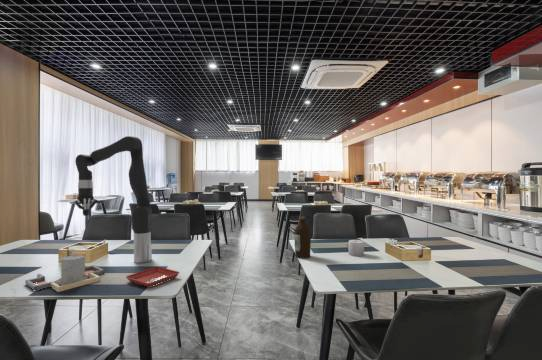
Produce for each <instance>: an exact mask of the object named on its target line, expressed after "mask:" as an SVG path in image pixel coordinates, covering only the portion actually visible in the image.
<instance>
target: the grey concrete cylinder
mask: <svg viewBox="0 0 542 360" xmlns="http://www.w3.org/2000/svg"><path fill="white" fill-rule="evenodd" d="M85 264H86V256H85V254H71V255H66V256H62V257H61V258H60V265H61V267H60V270H61V271H60V274H61V277H60V278H61V280H60V281H61V282H60V283H61V284H60V286H62V285H66V284H70V283H74V282H78V281H82V280H86V275H85V267H86V265H85Z"/></svg>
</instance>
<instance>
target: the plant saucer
mask: <svg viewBox="0 0 542 360" xmlns="http://www.w3.org/2000/svg"><path fill="white" fill-rule="evenodd" d="M179 274H180V271H177V270H173V269H169V268H165V267H161V266H154V267H151V268H147V269H145V270H141V271H138V272H135V273H132V274H129V275H126V276H125V278H126V279H127V280H128V281H130V283H133V282H134V284H136V283H137V284H136V285H139V284H141V285H140V286H142V285H144V286H143V287H145V286H147V287H146V288H148V287H150V286H153V285H156V284H158V283H161V282H164V281H167V280H169V279H172V278H174V279H176V278H177V276H178V275H179ZM163 275H165V276H167V277H165V278H162V279H160V280H157V281H154V282H151V283H146V282H147V281H149V282H150V280H151V279H152V278H153V279H154V278H158V277H161V276H163ZM172 280H173V279H172ZM169 281H170V280H169ZM167 282H168V281H167ZM164 283H165V282H164ZM161 284H162V283H161ZM156 286H157V285H156ZM153 287H154V286H153ZM150 288H151V287H150Z"/></svg>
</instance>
